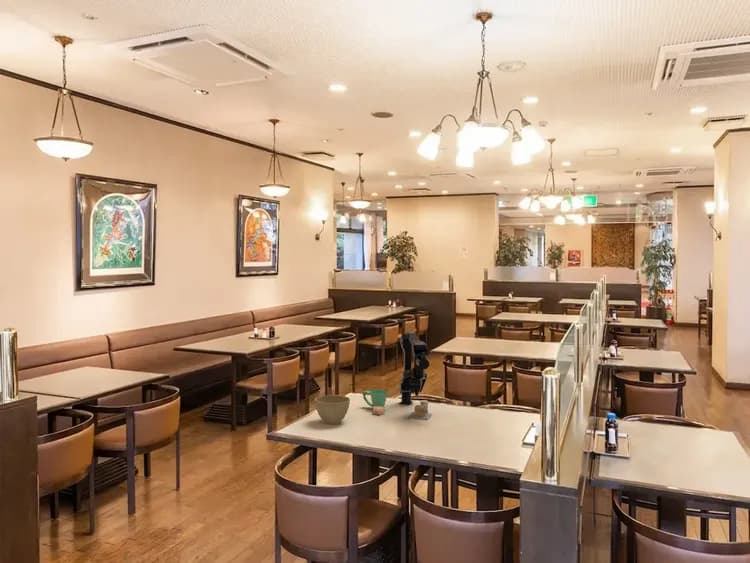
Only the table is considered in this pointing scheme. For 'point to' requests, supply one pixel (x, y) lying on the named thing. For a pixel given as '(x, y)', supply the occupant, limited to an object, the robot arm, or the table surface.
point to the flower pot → (332, 408)
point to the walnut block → (420, 410)
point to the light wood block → (424, 402)
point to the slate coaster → (419, 416)
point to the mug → (376, 397)
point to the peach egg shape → (378, 410)
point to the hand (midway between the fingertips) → (418, 394)
